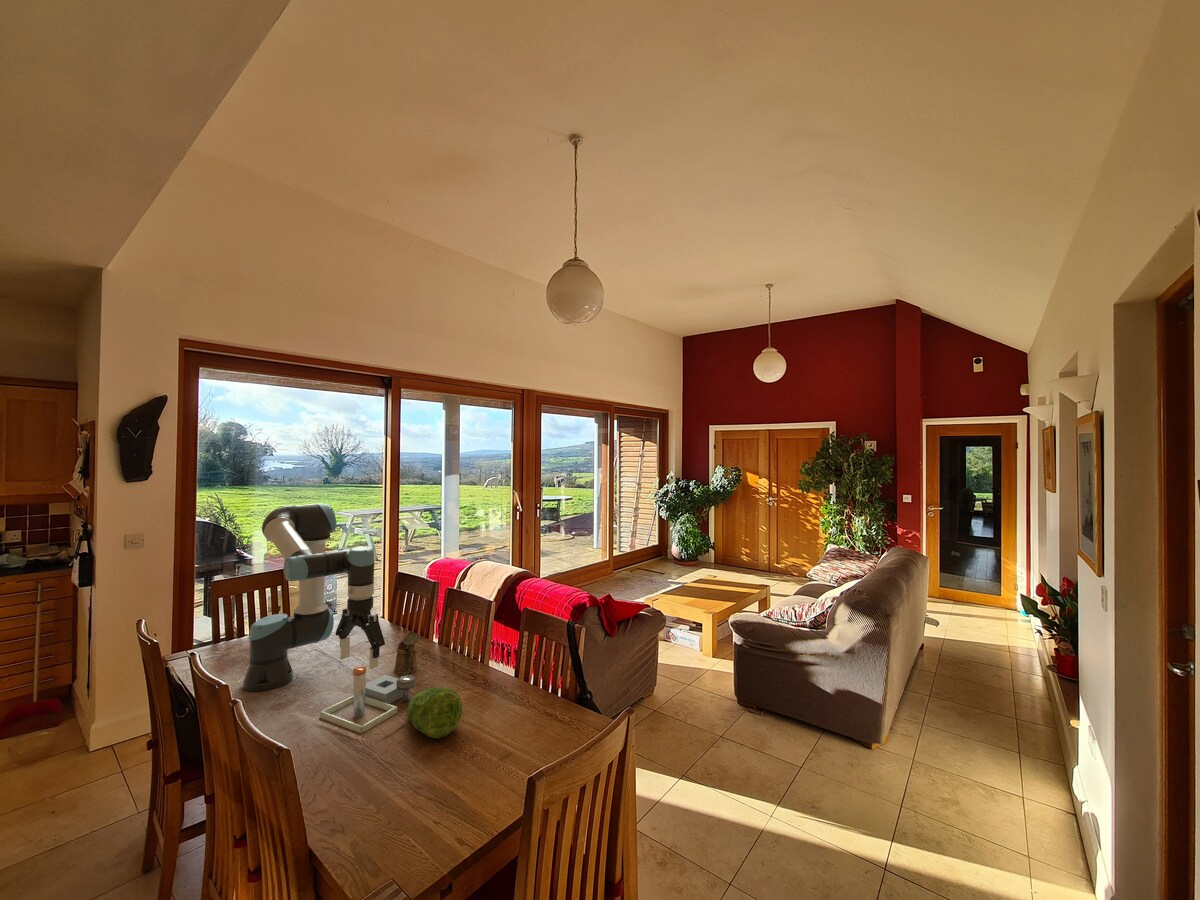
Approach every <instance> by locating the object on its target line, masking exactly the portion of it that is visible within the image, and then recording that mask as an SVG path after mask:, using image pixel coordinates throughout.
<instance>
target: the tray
mask: <svg viewBox="0 0 1200 900" xmlns="http://www.w3.org/2000/svg"><path fill="white" fill-rule="evenodd" d="M353 699H354V694H353V695H352V696H350V697H347V698H345V699H343V700H342V701H341V700H340V701H339V702H337V703H335V704H333V705H331V706H329V707H327V708H325V709H323V710H321V711H320V712H319V714H320V715H319V717H320V719H323V720H320V719H319V720H320V722H322V723H325V724H328V725H330V726H333V727H336V728H338V729H341V730H344V731H345V732H349V733H352V734H353V735H356V736H360V737H361V738H362V737H363V736H362V735H360V734H363V733H364V732H366V731H368V730H370V729H372V728H373V727H375V726H377V725H378V724H381V723H382V722H384V721H385V720H387V719H389V718H391V717H392V716H394V715H396V714H398V706H396V705H393V704H387V703H384V702H381V701H378V700H375V699H372V698H369V697H366V696H365V705H370V706H372V707H375V708H378V709H381V710H385V711H386V712H384V713H382V714H381V715H378V716H377V717H375V718H374V719H371V720H369V721H367V722H366V723H365V724H358V723H355V722H353V721H350V720H347V719H344V718H343V717H339V716H337V715H334V714H332V713H335V712H336V711H339V710H340V709H342V708H344V707H346V706H349V705H351V704H353ZM324 720H325V721H324ZM326 721H328V722H331V723H333V724H331V723H328V722H326ZM334 724H335V725H334ZM337 725H339V726H341V727H344V728H346V729H344V728H341V727H338V726H337ZM347 729H348V730H347ZM349 730H352V731H354V732H352V731H349ZM355 732H356V733H355ZM357 733H359V734H357Z"/></svg>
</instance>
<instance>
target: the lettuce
mask: <svg viewBox="0 0 1200 900" xmlns="http://www.w3.org/2000/svg"><path fill="white" fill-rule="evenodd" d="M406 712H407V717H408V719H409V720H410V722H411V723H412V725H413V728H415V729H416V730H417V731H419V732H421V734H424V735H426V736H427V737H428V738H432V739H437V740H438V739H441V738H444V737H447V736H448V735H449V734H450V733H452V732H454V730H455V728H456V727H457V726H458V725H459V723H460V720H461V718H462V715H463V702H462V699H461V697H460V695H459V694H458V693H457V692H456V691H455V690H453V689H452V688H447V687H442V686H441V687H440V686H436V687H432V688H428V689H424V690H422V691H419V692H418V693H416V694H415V695H414V696H413V697H412V698H411V699H410V700H409V701H408V705H407V708H406Z"/></svg>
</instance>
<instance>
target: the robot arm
mask: <svg viewBox="0 0 1200 900" xmlns="http://www.w3.org/2000/svg"><path fill="white" fill-rule="evenodd" d="M336 517H337V516H336V514H335V511H334V508H333V507H332V506H331V505H330V504H329V503H318V502H317V503H309V504H308V503H305V504H295V505H293V504H292V505H291V504H290V505H283V506H280V507H278V508H276V509H274V510H272V511H271V512H270V513H268V515H267V516H266V517H264V519H263V521H262V524H261V531H262V534H263V537H264V538H265V539H266V540H267V541H268V542H270V543H273V544H274V546H275V547H276V549H277V550H278V552H279V553H280V555H281V556H282V558H283V559H284V561H283V575H284V578H285V580H286V581H288V582H297V581H298V605H297V606H296V607H295V608H294V609H293V615H292V616H289V615H288V614H287V613H278V614H277V613H274V614H271V615H267V616H264V617H262V618H260V619H258V620H256V621H254V622H253V624H251V626H250V629H249V637H248V638H249V665H248V667H247V669H246V670H247V671H246V673H245V675H244V679H243V681H242V686H243V687H242V689H243V690H245V691H247V692H265V691H269V690H273V689H278V688H279V687H282V686H284V685H287V683H289V682H291V681H292V680H293V674H294V670H293V667H292V666H291V663H290V659H289V657H288V650H291V649H295V648H299V647H303V646H307V645H308V646H309V645H311V644H318V643H319V642H323V641H325V640H328V639H329V637H330V636H331V634H332V632H333V629H334V624H335V623H334V622H335V618H334V612H333V610H332V609H330V608H329V606H328V604H327V603H325V582H326V581H325V579H326V578H325V577H329V576H335V575H341V574H346V575H347V597H348V598H347V601H346V603H347V604H346V608H343V609H342V612H341V618H340V619H339V623H338V626H337V627H336V631H335V637H338V638H339V639H340V640H339V642H340V643H339V648H340V657H339V659H340V660H343V661H344V660H345V659H348V658H349V657H350V653H351V651H350V650H351V649H350V646H351V644H350V643H351V637H350V633H351V632H352V631H353V629H354V628H355V627H358V628H360V629H361V630H362V631H363V632H364V634H365V636H366V637H367V640H368V642H369V645H370V646H371V647H369V660H368V661H369V662H368V663H369V667H368V668H369V670H372V669H375V668H377V667H379V657H380V650H381V647H382V646H385V645H386V642H385V639H384V634H383V631H382V628H381V625H380V620H379V614H378V613H375V614H372V613H371V611H372V609H373V607H374V596H373V595H374V594H375V590H374V589H375V586H374V585H375V561H376V558H375V550H374V548H373V547H370V546H357V547H353V548H352V547H340V548H339V549H337V550H335V551H327V552H326V543H327V541H329V540H330V539H331V534H332V533H334V532H336V530H337V529H336V528H337V519H336Z"/></svg>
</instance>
